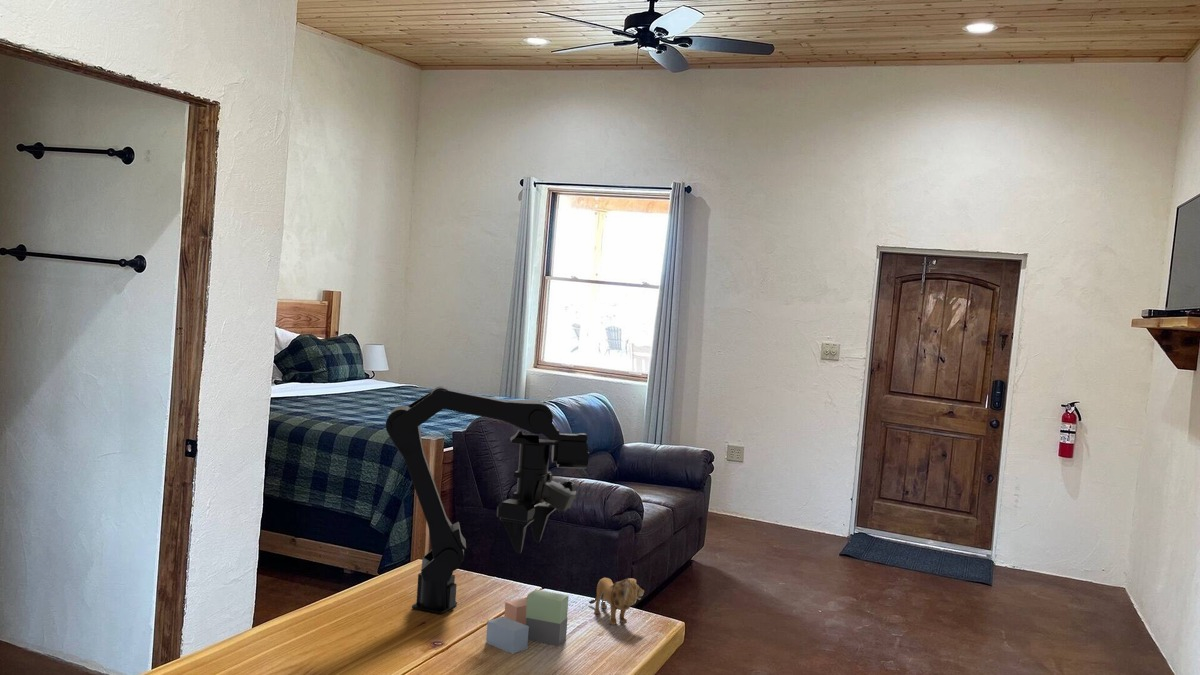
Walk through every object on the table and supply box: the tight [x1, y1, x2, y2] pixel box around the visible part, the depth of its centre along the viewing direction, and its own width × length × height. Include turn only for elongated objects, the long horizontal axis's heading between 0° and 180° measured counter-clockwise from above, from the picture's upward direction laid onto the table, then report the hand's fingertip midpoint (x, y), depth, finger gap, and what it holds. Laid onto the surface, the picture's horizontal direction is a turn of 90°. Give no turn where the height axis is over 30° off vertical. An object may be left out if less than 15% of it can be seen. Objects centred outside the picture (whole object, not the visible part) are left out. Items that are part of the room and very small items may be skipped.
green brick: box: [526, 589, 570, 624], centre depth 164 cm, size 6×4×4 cm, turn 71°
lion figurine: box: [588, 577, 645, 626], centre depth 178 cm, size 15×5×9 cm, turn 36°
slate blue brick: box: [485, 616, 529, 655], centre depth 160 cm, size 6×4×4 cm, turn 51°
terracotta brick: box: [503, 597, 527, 625], centre depth 172 cm, size 6×4×4 cm, turn 131°
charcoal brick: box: [526, 617, 568, 647], centre depth 164 cm, size 6×4×4 cm, turn 71°
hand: (528, 547), depth 179 cm, fingers open, 9 cm apart
